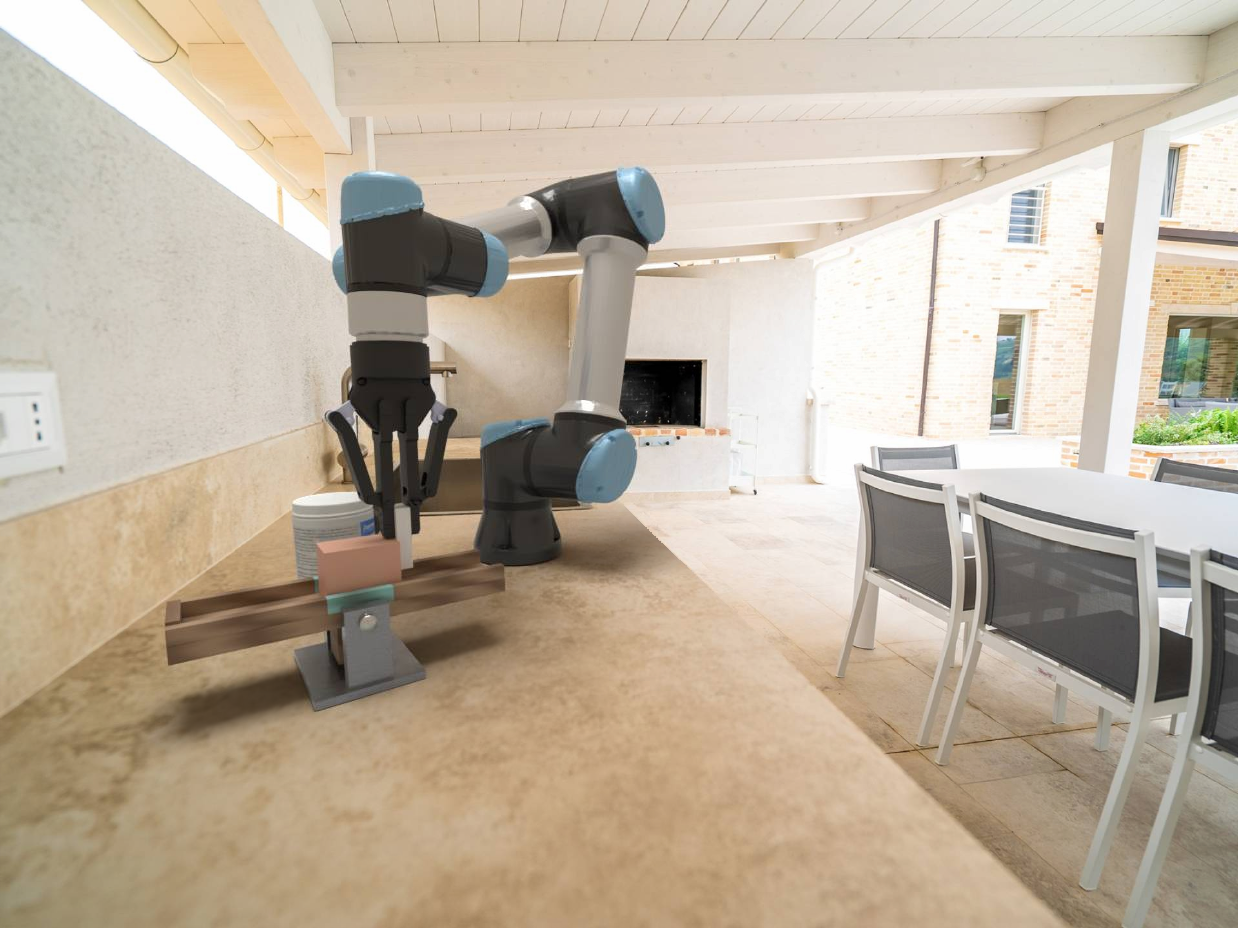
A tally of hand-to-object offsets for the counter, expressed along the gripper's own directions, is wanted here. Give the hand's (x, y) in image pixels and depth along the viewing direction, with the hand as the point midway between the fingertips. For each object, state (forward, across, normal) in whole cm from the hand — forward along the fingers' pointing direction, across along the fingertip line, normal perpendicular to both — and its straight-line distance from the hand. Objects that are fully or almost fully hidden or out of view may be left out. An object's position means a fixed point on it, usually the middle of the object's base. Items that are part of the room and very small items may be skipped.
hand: (402, 565), depth 62 cm
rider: (+2, +4, 0) cm, 5 cm away
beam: (+8, +5, 0) cm, 10 cm away
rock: (+10, -5, -53) cm, 54 cm away
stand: (+10, +5, 0) cm, 11 cm away
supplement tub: (+10, +3, -19) cm, 22 cm away
